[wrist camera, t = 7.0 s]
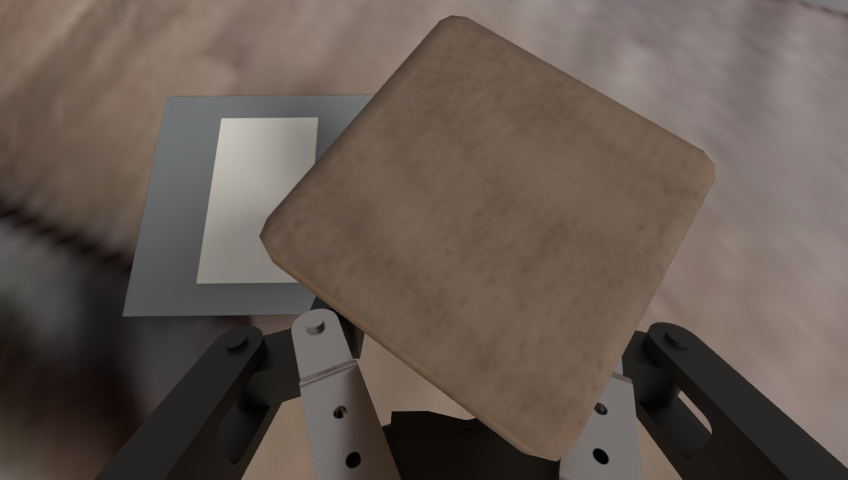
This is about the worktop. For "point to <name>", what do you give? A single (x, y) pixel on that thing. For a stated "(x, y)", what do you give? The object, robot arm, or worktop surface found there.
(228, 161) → the socket board
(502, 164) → the wooden block
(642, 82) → the worktop surface
